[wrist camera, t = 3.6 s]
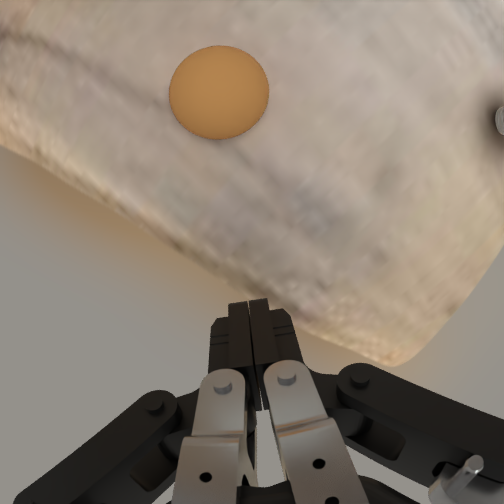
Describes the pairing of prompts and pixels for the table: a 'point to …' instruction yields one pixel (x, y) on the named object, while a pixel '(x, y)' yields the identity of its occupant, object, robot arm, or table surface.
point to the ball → (219, 92)
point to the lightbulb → (500, 120)
